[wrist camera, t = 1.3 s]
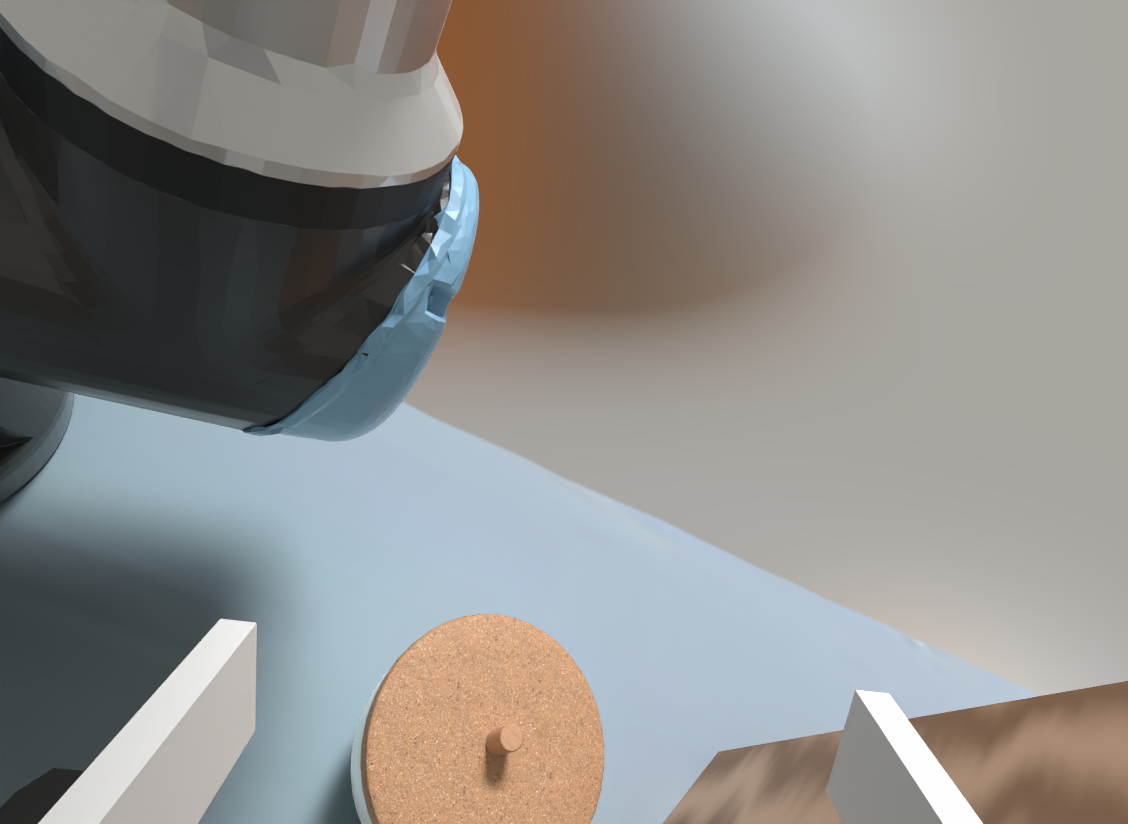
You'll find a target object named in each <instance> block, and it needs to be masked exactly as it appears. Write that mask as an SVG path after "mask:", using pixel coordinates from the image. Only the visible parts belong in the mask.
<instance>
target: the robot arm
mask: <svg viewBox="0 0 1128 824" xmlns="http://www.w3.org/2000/svg"><path fill="white" fill-rule="evenodd" d="M451 1H452V0H0V502H2V501H3V500H5V499H6V498H8V497H9V496H10V495H12V494H13V493H14V492H16V491H17V490H18V489H20V488H21V487H22V486H23V485H24V484H25V483H27V482H28V481H29V480H30V479H31V478H32V477H33V476H34V475H35V474H36V473H37V472H38V471H39V470H40V469H41V468H42V467H43V465H44V464H45V463H46V462H47V461H48V459H49V458H50V457H51V455H52V454H53V453H54V451H55V450H56V448H57V447H58V445H59V443H60V442H61V440H62V438H63V436H64V434H65V432H66V429H67V427H68V424H69V421H70V418H71V414H72V409H73V404H74V393H75V394H79V395H84V396H88V397H93V398H98V399H102V400H107V401H111V402H116V403H120V404H125V405H130V406H134V407H139V408H143V409H148V410H153V411H157V412H162V413H166V414H171V415H175V416H180V417H185V418H189V419H194V420H198V421H203V422H207V423H212V424H217V425H221V426H226V427H230V428H235V429H239V430H242V431H243V432H244V433H248V434H252V435H258V436H264V435H273V434H285V435H291V436H298V437H305V438H311V439H318V440H325V441H346V440H351V439H355V438H358V437H360V436H362V435H365V434H367V433H369V432H370V431H372V430H373V429H375V428H376V427H378V426H379V425H380V424H382V423H383V422H384V421H385V420H386V419H387V418H388V417H389V416H390V415H391V414H392V413H393V412H394V411H395V410H396V408H397V407H398V406H399V405H400V404H401V403H402V401H403V400H404V398H405V397H406V396H407V394H408V393H409V392H410V390H411V389H412V387H413V386H414V384H415V383H416V381H417V379H418V378H419V376H420V375H421V373H422V371H423V370H424V368H425V366H426V364H427V363H428V361H429V359H430V357H431V355H432V353H433V351H434V349H435V347H436V345H437V343H438V341H439V339H440V337H441V335H442V333H443V330H444V327H445V325H446V311H447V306H448V305H449V303H450V302H451V301H452V299H453V297H454V296H455V295H456V294H457V292H458V291H459V289H460V286H461V284H462V281H463V278H464V276H465V273H466V270H467V267H468V263H469V260H470V256H471V253H472V249H473V244H474V239H475V235H476V228H477V223H478V213H479V193H478V186H477V182H476V180H475V178H474V176H473V174H472V172H471V171H470V170H469V168H467V167H466V166H465V165H464V164H462V163H461V162H460V160H459V159H458V158H457V156H456V155H455V154H456V151H457V149H458V146H459V143H460V140H461V136H462V132H463V118H462V114H461V110H460V106H459V103H458V101H457V98H456V96H455V94H454V92H453V89H452V87H451V85H450V83H449V80H448V78H447V76H446V74H445V72H444V70H443V67H442V65H441V63H440V61H439V58H438V56H437V53H436V46H437V43H438V40H439V37H440V34H441V31H442V29H443V26H444V22H445V20H446V17H447V14H448V11H449V7H450V5H451ZM256 652H257V623H255V622H246V621H237V620H228V619H220V620H219V621H218V622H217V623H216V624H215V625H214V627H213V628H212V629H211V630H210V631H209V632H208V633H207V634H206V636H205V637H204V638H203V639H202V640H201V641H200V642H199V643H198V645H197V646H196V647H195V648H194V649H193V650H192V651H191V652H190V653H189V655H188V656H187V657H186V658H185V659H184V660H183V661H182V662H181V664H180V665H179V666H178V667H177V668H176V669H175V670H174V671H173V673H172V674H171V675H170V676H169V677H168V678H167V679H166V680H165V682H164V683H163V684H162V685H161V686H160V687H159V688H158V689H157V691H156V692H155V693H154V694H153V695H152V696H151V697H150V698H149V700H148V701H147V702H146V703H145V704H144V705H143V706H142V707H141V709H140V710H139V711H138V712H137V713H136V714H135V715H134V716H133V717H132V719H131V720H130V721H129V722H128V723H127V724H126V725H125V726H124V728H123V729H122V730H121V731H120V732H119V733H118V734H117V735H116V737H115V738H114V739H113V740H112V741H111V742H110V743H109V744H108V746H107V747H106V748H105V749H104V750H103V751H102V752H101V753H100V755H99V756H98V757H97V758H96V759H95V760H94V761H93V762H92V764H91V765H90V766H89V767H88V768H87V769H86V770H85V771H77V770H67V769H57V768H53V769H51V770H50V771H48V772H47V773H45V774H44V775H42V776H41V777H39V778H37V779H36V780H34V781H33V782H31V783H30V784H28V785H27V786H25V787H23V788H22V789H20V790H19V791H17V792H16V793H15V794H14V795H13V796H12V797H11V798H10V799H9V800H8V801H7V802H6V803H5V804H4V805H3V806H2V807H1V808H0V824H198V823H199V821H200V819H201V818H202V816H203V814H204V813H205V811H206V810H207V808H208V806H209V805H210V803H211V801H212V800H213V798H214V797H215V795H216V793H217V792H218V790H219V789H220V787H221V785H222V784H223V782H224V780H225V779H226V777H227V776H228V774H229V772H230V771H231V769H232V767H233V766H234V764H235V763H236V761H237V759H238V758H239V756H240V755H241V753H242V751H243V750H244V748H245V746H246V745H247V743H248V742H249V740H250V738H251V737H252V735H253V733H254V732H255V728H256ZM826 791H827V793H828V795H829V798H830V800H831V802H832V804H833V806H834V808H835V810H836V812H837V814H838V816H839V818H840V820H841V822H842V824H983V823H982V821H981V820H980V819H979V817H978V816H977V815H976V813H975V812H974V810H973V809H972V808H971V806H970V805H969V803H968V802H967V801H966V799H965V798H964V797H963V795H962V794H961V792H960V791H959V790H958V788H957V787H956V785H955V784H954V783H953V781H952V780H951V779H950V777H949V776H948V774H947V773H946V772H945V770H944V769H943V768H942V766H941V765H940V763H939V762H938V761H937V759H936V758H935V756H934V755H933V754H932V752H931V751H930V750H929V748H928V747H927V745H926V744H925V743H924V741H923V740H922V739H921V737H920V736H919V734H918V733H917V732H916V730H915V729H914V727H913V726H912V725H911V723H910V722H909V721H908V719H907V718H906V716H905V715H904V714H903V712H902V711H901V709H900V708H899V707H898V705H897V704H896V703H895V701H894V700H893V698H892V697H891V696H890V694H888V693H879V692H870V691H861V690H855V693H854V697H853V700H852V703H851V707H850V710H849V714H848V717H847V720H846V724H845V727H844V731H843V734H842V738H841V741H840V744H839V748H838V751H837V755H836V758H835V761H834V765H833V768H832V772H831V775H830V779H829V782H828V785H827V789H826Z"/></svg>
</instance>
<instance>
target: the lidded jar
mask: <svg viewBox="0 0 1128 824" xmlns="http://www.w3.org/2000/svg"><path fill="white" fill-rule="evenodd" d="M603 771H604V742H603V733H602V725H601V721H600V717H599V713H598V709H597V705H596V703H595V700H594V697H593V694H592V692H591V689H590V687H589V685H588V683H587V681H586V679H585V677H584V676H583V674H582V672H581V670H580V669H579V667H578V666H577V665H576V663H575V662H574V660H573V659H572V658H571V656H570V655H569V654H568V653H567V652H566V651H565V650H564V649H563V648H562V647H561V646H560V644H559V643H557V642H556V641H555V640H554V639H552V638H551V637H550V636H549V635H547V634H546V633H545V632H543V631H541V630H540V629H538V628H536V627H534V626H533V625H531V624H529V623H526V622H523V621H521V620H518V619H516V618H512V617H507V616H502V615H491V614H479V615H472V616H464V617H461V618H458V619H455V620H452V621H449V622H446V623H444V624H442V625H440V626H438V627H436V628H434V629H433V630H431V631H429V632H428V633H427V634H425V635H424V636H423V637H421V638H420V639H418V640H417V641H416V642H414V643H413V644H412V645H411V646H410V647H409V648H408V649H407V650H406V651H405V652H404V653H403V654H402V655H401V656H400V657H399V658H398V659H397V660H396V662H395V663H394V664H393V666H392V667H391V668H390V669H389V670H388V671H387V672H386V673H385V675H384V676H383V678H382V679H381V680H380V682H379V683H378V684H377V686H376V687H375V689H374V691H373V692H372V694H371V696H370V698H369V700H368V702H367V704H366V706H365V708H364V709H363V712H362V715H361V717H360V720H359V723H358V726H357V728H356V733H355V737H354V742H353V747H352V756H351V784H352V793H353V798H354V802H355V807H356V811H357V814H358V816H359V819H360V821H361V824H590V822H591V820H592V818H593V815H594V813H595V810H596V807H597V803H598V799H599V795H600V791H601V786H602V778H603Z"/></svg>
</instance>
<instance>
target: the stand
mask: <svg viewBox="0 0 1128 824" xmlns="http://www.w3.org/2000/svg"><path fill="white" fill-rule="evenodd" d="M908 721H909V722H910V723H911V725H912V726H913V727H914V729H915V730H916V732H917V733H918V734H919V736H920V737H921V739H922V740H923V741H924V743H925V744H926V745H927V747H928V748H929V750H930V751H931V752H932V754H933V755H934V756H935V758H936V759H937V761H938V762H939V763H940V765H941V766H942V768H943V769H944V770H945V772H946V773H947V774H948V776H949V777H950V779H951V780H952V781H953V783H954V784H955V785H956V787H957V788H958V790H959V791H960V792H961V794H962V795H963V797H964V798H965V799H966V801H967V802H968V803H969V805H970V806H971V808H972V809H973V810H974V812H975V813H976V815H977V816H978V817H979V819H980V820H981V821H982V823H983V824H1128V681H1125V682H1119V683H1114V684H1108V685H1102V686H1096V687H1090V688H1085V689H1079V690H1074V691H1067V692H1062V693H1056V694H1050V695H1044V696H1038V697H1033V698H1027V699H1021V700H1015V701H1010V702H1004V703H998V704H992V705H986V706H981V707H975V708H969V709H963V710H958V711H952V712H946V713H940V714H934V715H929V716H923V717H917V718H911V719H908ZM843 731H844V730H842V731H836V732H830V733H825V734H819V735H813V736H807V737H802V738H796V739H790V740H784V741H778V742H773V743H767V744H761V745H755V746H750V747H744V748H738V749H732V750H726V751H721V752H718V753H717V755H716V756H715V757H714V759H713V760H712V761H711V762H710V764H709V765H708V766H707V768H706V769H705V770H704V771H703V773H702V774H701V775H700V777H699V778H698V779H697V780H696V782H695V783H694V784H693V786H692V787H691V788H690V789H689V791H688V792H687V793H686V795H685V796H684V797H683V799H682V800H681V801H680V802H679V804H678V805H677V806H676V808H675V809H674V810H673V811H672V813H671V814H670V815H669V817H668V818H667V819H666V820H665V822H664V823H663V824H842V822H841V820H840V818H839V816H838V814H837V812H836V810H835V808H834V806H833V804H832V802H831V800H830V798H829V795H828V793H827V791H826V789H827V785H828V782H829V779H830V775H831V772H832V768H833V765H834V761H835V758H836V755H837V751H838V748H839V744H840V741H841V738H842V734H843Z"/></svg>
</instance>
